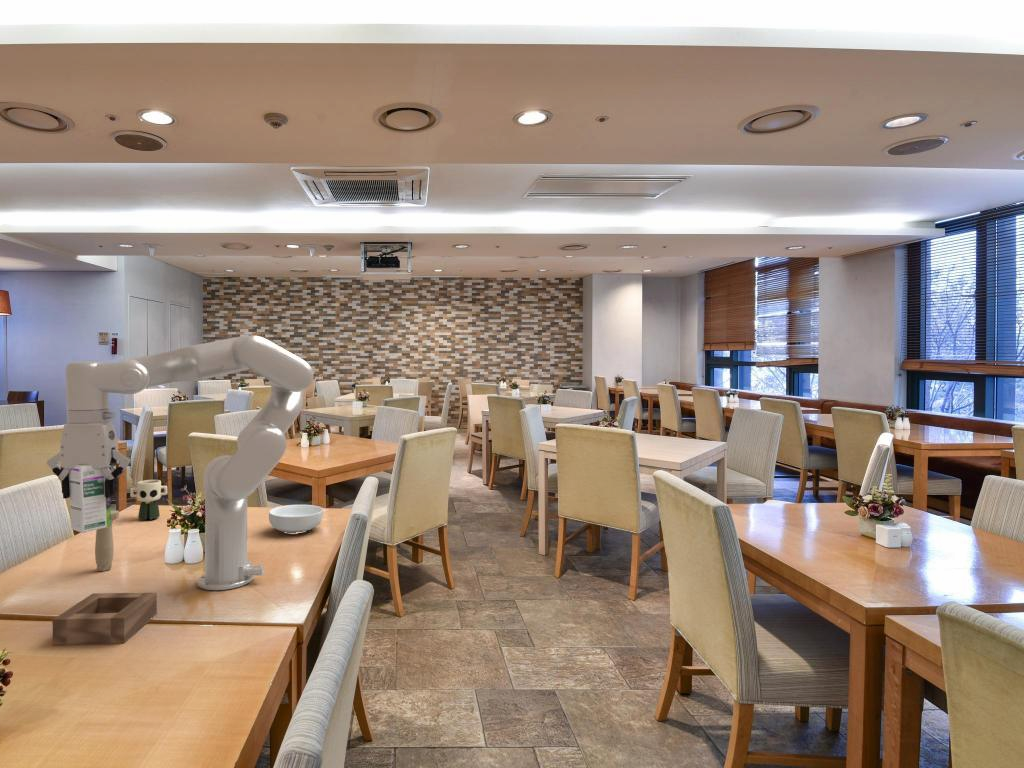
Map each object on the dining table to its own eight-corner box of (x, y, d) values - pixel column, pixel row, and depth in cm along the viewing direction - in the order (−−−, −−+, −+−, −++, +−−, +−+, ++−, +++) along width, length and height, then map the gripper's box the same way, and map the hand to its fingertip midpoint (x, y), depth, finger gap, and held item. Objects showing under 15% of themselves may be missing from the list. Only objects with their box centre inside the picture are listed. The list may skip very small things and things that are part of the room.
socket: (156, 615, 129) (156, 592, 129) (124, 643, 116) (124, 617, 116) (92, 616, 128) (92, 593, 127) (52, 645, 115) (52, 619, 114)
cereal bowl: (312, 539, 186) (312, 517, 186) (259, 538, 186) (259, 515, 186) (329, 524, 203) (330, 504, 203) (281, 523, 203) (281, 503, 203)
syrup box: (82, 533, 127) (80, 466, 127) (69, 529, 131) (68, 463, 130) (111, 527, 132) (110, 462, 132) (99, 523, 135) (97, 459, 135)
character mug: (129, 523, 199) (129, 484, 199) (131, 518, 205) (131, 480, 205) (166, 520, 204) (166, 482, 203) (168, 515, 210) (168, 478, 210)
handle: (118, 570, 155) (118, 513, 154) (88, 574, 152) (88, 516, 151) (119, 565, 159) (119, 509, 159) (90, 568, 156) (90, 512, 155)
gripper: (139, 415, 135) (140, 492, 136) (56, 416, 133) (58, 493, 134) (121, 419, 128) (122, 500, 128) (33, 419, 126) (35, 501, 126)
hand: (90, 496), depth 131 cm, fingers closed on syrup box, 8 cm apart
